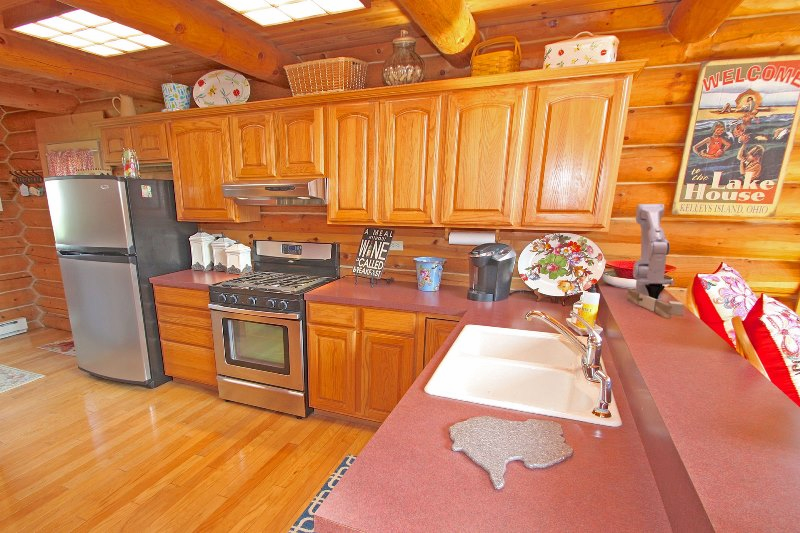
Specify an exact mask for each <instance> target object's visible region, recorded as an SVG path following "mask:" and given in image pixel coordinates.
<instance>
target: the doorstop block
mask: <svg viewBox="0 0 800 533" xmlns="http://www.w3.org/2000/svg"><path fill="white" fill-rule="evenodd" d="M667 304H669V305H672V312H671V316H683V313H684V305H685V304H684V303H682V302H681V301H674V300H672V301H671V300H669V301H668V303H667Z"/></svg>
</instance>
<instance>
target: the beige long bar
mask: <svg viewBox="0 0 800 533" xmlns="http://www.w3.org/2000/svg"><path fill="white" fill-rule="evenodd" d="M639 294H642V293H639V292H637V291H635V290H634V289H627V301H629V302H631V303H633V304H636V305H638V303H639V300H638V299H639ZM638 306H639V305H638ZM671 312H672V305H669V304H668V303H666V302H663V301H662V300H661V301H656V308H655V312H654V314H656V313H657V314H656V315H658V314H659V316H660V315H661V316H660V317H663V318H665V319H672V315H671Z"/></svg>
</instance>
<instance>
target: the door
mask: <svg viewBox="0 0 800 533" xmlns="http://www.w3.org/2000/svg"><path fill="white" fill-rule="evenodd" d="M638 300H639V303H638V306H640V307H642V308H644V309H647V310H649V311H651V312H653V313H655V308H656V301H659V300H657V299H654V298H652V297H649V296H647V295H644V294H639V299H638Z"/></svg>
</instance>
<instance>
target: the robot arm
mask: <svg viewBox="0 0 800 533" xmlns="http://www.w3.org/2000/svg"><path fill="white" fill-rule="evenodd" d="M664 215H665V205H664V204H663V203H638V205H637V206H636V210H635V220H636V223H637V224H638V225H639V226H640V258H639V259H638V260H636V261H635V262H634V263H633V269H632V276H633V278H634V279H635V282H636V283H635V290H634V291H637V292H639V293H642V294H644V295H647V296H649V297H652V298H654V299H657V300H659V301H662V299H661V298H662V291H663V290H664V289H665V288H666V287H665V285H667V286H668V285H670V286H674V284H675V283H674V282H675V280H674V279H668V278H667V279H665V272H666V263H667V262H666V261H667V256H668V255H669V253H670V241H668V239H666V235H665V230H664V229H663V228H662V227H661V221H662V219H663V217H664Z"/></svg>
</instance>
